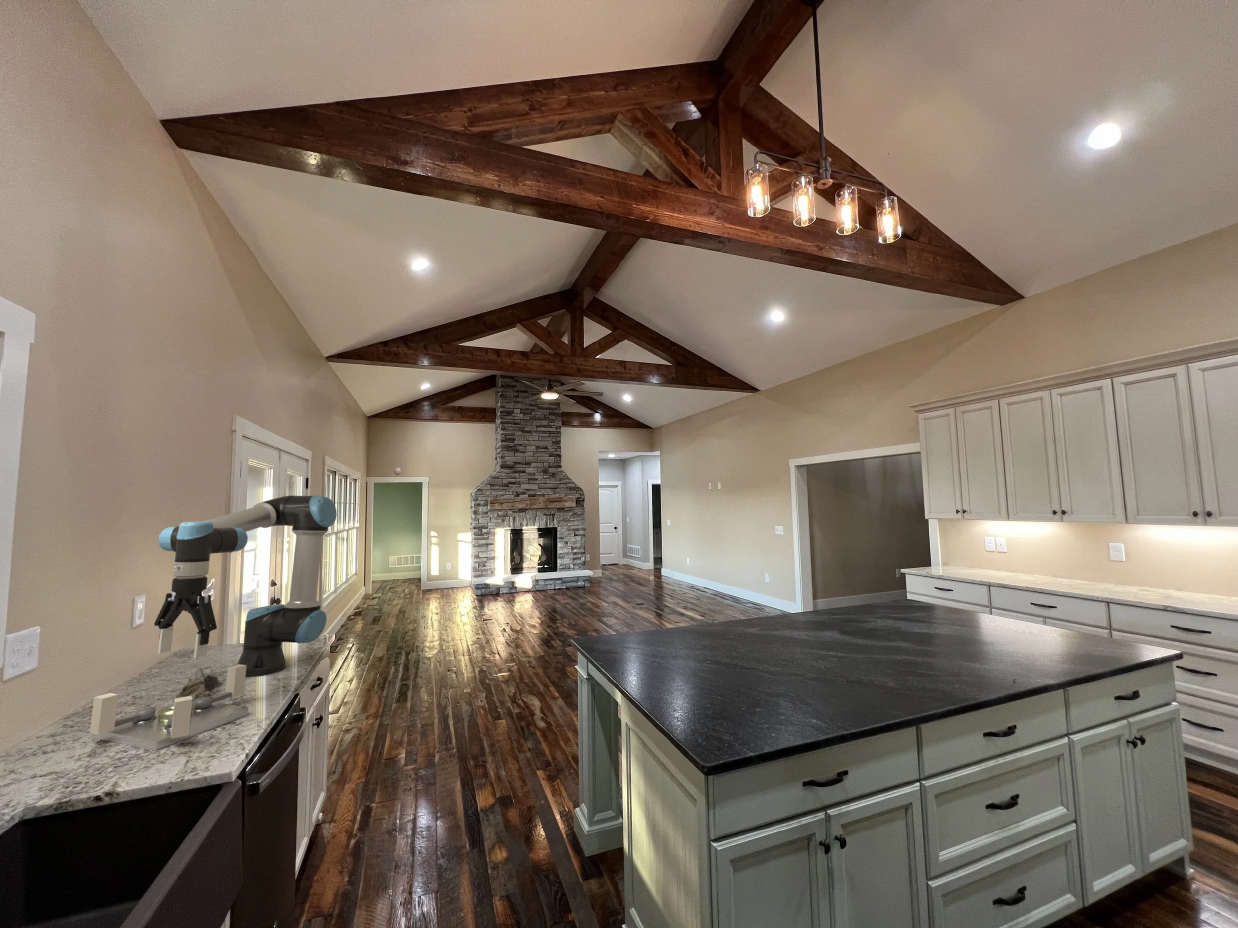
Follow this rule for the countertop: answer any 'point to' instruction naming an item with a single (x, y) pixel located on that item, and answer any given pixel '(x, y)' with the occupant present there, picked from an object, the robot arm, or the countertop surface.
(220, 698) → the gray lever with block
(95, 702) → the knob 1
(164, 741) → the level plate
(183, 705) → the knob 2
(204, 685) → the rock
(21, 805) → the countertop surface
